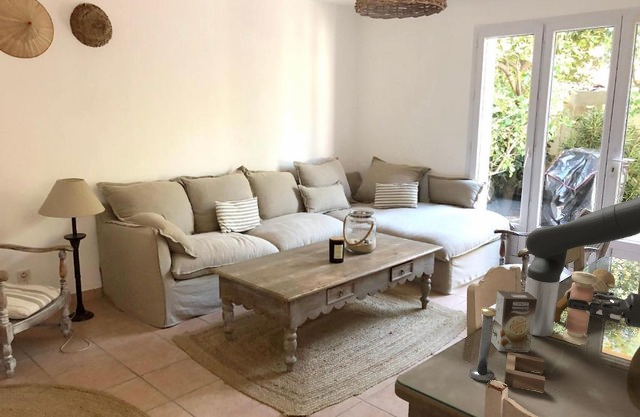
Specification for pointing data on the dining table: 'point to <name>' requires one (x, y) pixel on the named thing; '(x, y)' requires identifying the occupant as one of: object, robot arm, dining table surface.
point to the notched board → (523, 378)
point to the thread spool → (579, 318)
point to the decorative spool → (603, 284)
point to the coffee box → (513, 321)
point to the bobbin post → (484, 348)
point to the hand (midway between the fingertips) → (567, 299)
